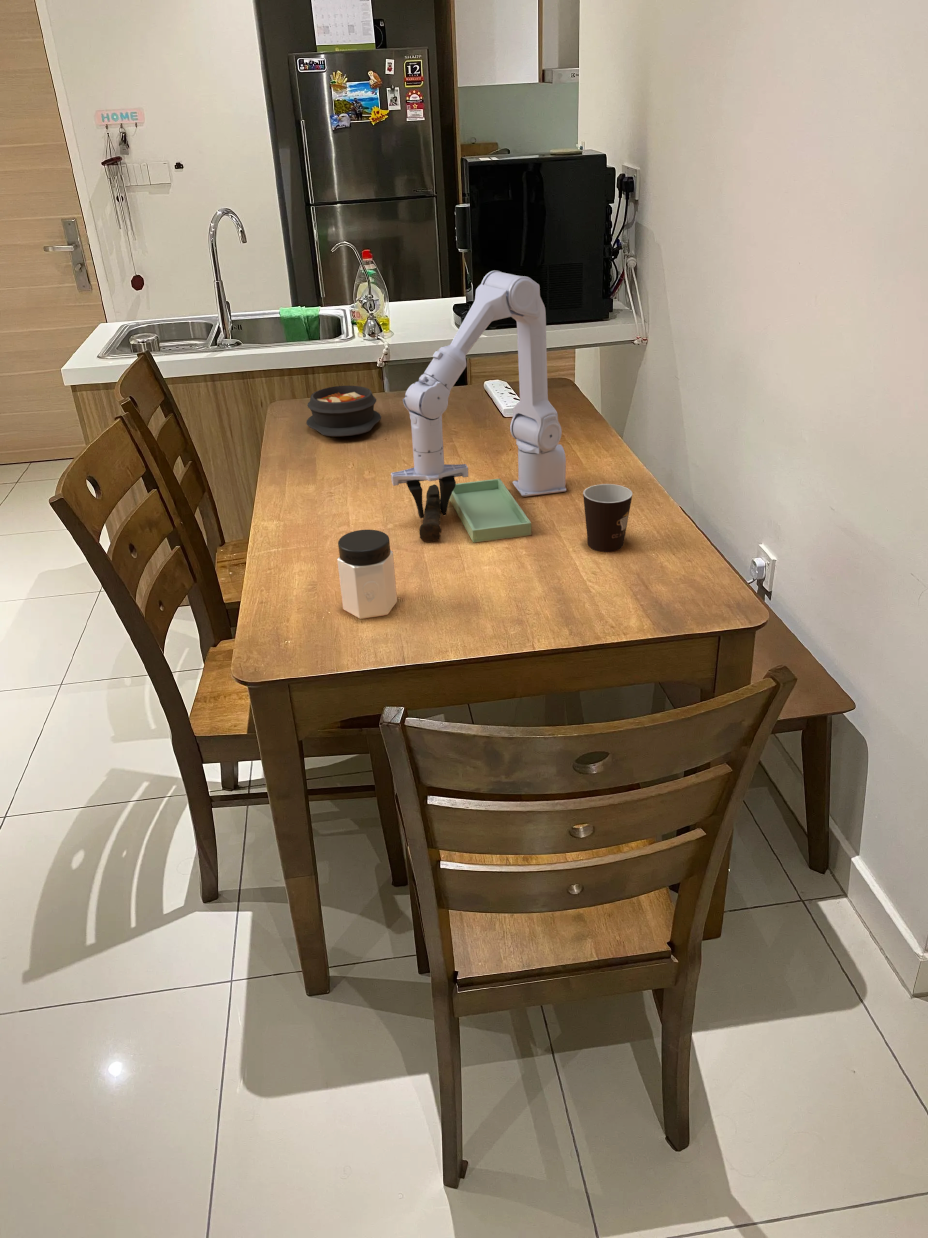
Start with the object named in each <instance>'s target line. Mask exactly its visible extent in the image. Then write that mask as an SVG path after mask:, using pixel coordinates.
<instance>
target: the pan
mask: <svg viewBox="0 0 928 1238" xmlns="http://www.w3.org/2000/svg"><path fill="white" fill-rule="evenodd" d="M449 502H450V503H451V505H452V506H453V508H454V510H455V512H456V514H457V516H458V518H459V520H460V522H461V524H462V525H463V527H464V529H465V531H466V532H467V534H468V536H469V538H470V539H471V541H472V543H481V542H489V541H490V542H491V541H496V540H503V539H504V540H505V539H512V538H520V537H528V536H532V522H531V520H530V519H529V518H528V516H527V515H526V513H525V512H524V510H523V509H522V507H521V506H520V505H519V503H518V502H517V500H516V499H515V498H514V496H513V494H512V493H511V492H510V491H509V489H508V487H507V486H506V485H505V483H504V482H503V481H502V479H501V478H493V479H484V480H483V479H482V480H476V481H475V480H474V481H468V482H459V483H456V485H455V488H454V490H453V492H452V494H451V496H450V499H449Z"/></svg>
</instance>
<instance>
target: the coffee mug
mask: <svg viewBox="0 0 928 1238" xmlns="http://www.w3.org/2000/svg"><path fill="white" fill-rule="evenodd" d="M582 495H583V507H584V517H585V518H584V519H585V529H586V539H587V546H588V547H589V548H590V549H591V550H592V551H596V552H601V553H612V552H616V551H619V550H621V549H622V548H624V544H625V538H626V533H627V526H628V521H629V516H630V510H631V504H632V499H633V491H632V490H631V489H630V488H628V487H626V486H624V485H621V484H614V483H600V484H594V485H590V486H588V487H586V488H585V489H584V490H583V491H582Z"/></svg>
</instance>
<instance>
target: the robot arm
mask: <svg viewBox="0 0 928 1238" xmlns="http://www.w3.org/2000/svg"><path fill="white" fill-rule="evenodd" d="M540 289H541V287H540V284H539V283H537V282H536V281H535V280H533V279H532V278H531V277H529V276H525V275H524V276H523V275H516V274H513V273H506V272H502V271H500V270H495V269H494V270H491V271H489V272H488V273H486V274H485V276H483V279H482V280H481V283H480V284H479V285H478V286H477V288H476V289H475V296H474V301H473V303H472V305H471V307H470V308H469V310H468V312H467V314H466V315H465V317H464V319H463V320H462V322H461V324H460V326H459V328H458V330H457V331H456V333H455V334H454V336H453V339H452V340H451V342H450V344H448V345H445V346H444V345H443V346H441V347H439V349H438V350H435V352H434V353H433V354H432V360H431V361H430V363H429V364H428V366H427V367H426V369H425V370H424V372H423V373H422V374H421V375H420V376H419V378H418V381H415V382H414V383H412V384H410V385H409V386H408V388H407V389H406V391H405V395H404V397H403V398H402V403H403V406H404V408H405V409H406V410H407V412H408V413H409V419H410V427H411V443H412V444H411V445H412V455H413V456H412V457H413V458H412V459H413V467H410V468H407V469H403V470H398V471H393V472H390V480H391V481H390V482H391V484H392V486H394V487H395V486H399V485H400V484H406V487H407V488H408V490H409V492H410V494H411V496H412V497H413V500H414V501H415V505H416V509H417V512H418V516H419V517H418V518H419V519H423V517H424V505H423V487H422V485H421V482H426V481H428V482H435V481H438V485H439V486H438V487H439V493H440V508H441V510H440V514H441V516H447V511H448V508H449V507H448V506H449V502H450V496H451V494H452V492H453V490H454V488H455V485H456V484H457V481H456V479H455V478H460V477H462V478H469V467H468V465H467V464H466V463H459V464H450V463H449V464H445V453H444V449H445V448H444V435H443V434H444V433H443V414H444V413H445V412H446V411H447V409H448V405H449V397H450V394H451V390H452V389H453V387H454V386H455V384H456V382H457V381H458V380H459V378H460V377H461V375H462V374H463V372H464V371H465V369H466V368H467V359H466V356H467V355H468V353H469V352H470V350H471V349H472V348H473V346H474V345H475V344H476V343H477V341H478V340H479V339H480V338H481V336H482V335H483V333H484V332H485V331H486V329H488V327H489V325H490V324H491V323H492V322H494V321H498V320H499V321H500V320H502V319H507V318H512V319H513V320H515V321H516V336H517V357H518V358H517V361H518V383H519V384H518V386H519V402H517V403H516V404H515V405H514V406H513V408H512V417H511V418H512V419H511V421H510V424H509V425H510V426H509V431H510V434H511V437H512V438H513V439H515V445H516V446H517V464H518V465H517V470H518V471H517V473H518V474H517V475H518V477H517V480H513V481H512V485H513V486H514V488H515V489H516V490H517V492H518V493H519V494H520V496H522V497H532V496H540V495H548V494H549V495H550V494H556V493H557V494H558V493H563V492H564V493H565V492H567V487H566V480H567V479H566V476H567V475H566V474H567V459H566V458H567V457H566V453H565V452H566V451H565V448H564V447H563V445H562V444H560V442H561V439H562V433H563V431H562V430H563V429H562V426H561V424H560V421H559V416H558V411H557V410H556V408H555V406H553V405H552V403H551V402H550V401H549V395H548V394H549V393H548V392H549V391H548V386H549V385H548V356H547V355H548V354H547V353H548V351H547V315H546V307H545V304H544V302H543V299H542V297H541V290H540Z"/></svg>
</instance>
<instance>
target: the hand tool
mask: <svg viewBox="0 0 928 1238" xmlns="http://www.w3.org/2000/svg"><path fill="white" fill-rule="evenodd" d="M425 499H426V500H425V507H424V510H423V512H424V517H423V518H422V523H421V525H420V526H419V533H418V534H419V539H420V540H421V541H422V542H423V543H433V542H435V541H439V540H440V538H441V533H442V527H441V518H442V513H441V508H440V487H439V486H438V484H431V485H429V486H428V489H427V491H426V495H425Z"/></svg>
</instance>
